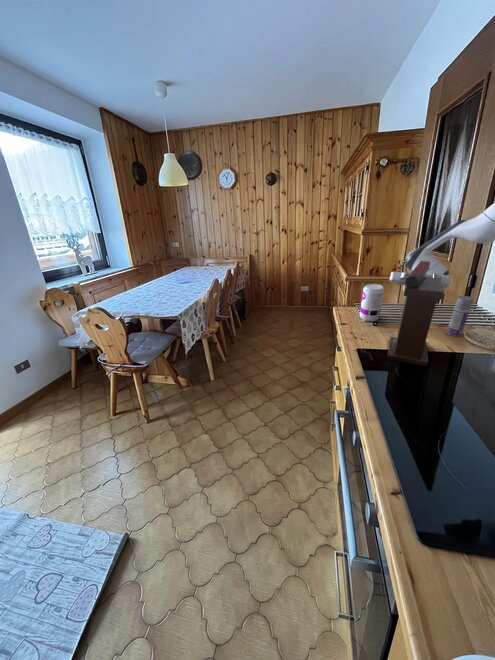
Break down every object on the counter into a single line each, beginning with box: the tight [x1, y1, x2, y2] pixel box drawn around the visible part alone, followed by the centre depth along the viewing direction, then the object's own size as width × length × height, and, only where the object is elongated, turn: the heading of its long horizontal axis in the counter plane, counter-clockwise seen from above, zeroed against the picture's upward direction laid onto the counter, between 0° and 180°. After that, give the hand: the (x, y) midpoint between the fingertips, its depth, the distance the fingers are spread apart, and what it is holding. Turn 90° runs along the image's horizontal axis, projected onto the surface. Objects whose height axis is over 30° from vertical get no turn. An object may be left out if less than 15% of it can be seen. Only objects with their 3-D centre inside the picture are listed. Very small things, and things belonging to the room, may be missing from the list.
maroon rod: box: [405, 261, 430, 288], centre depth 93 cm, size 22×4×4 cm, turn 141°
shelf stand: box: [386, 276, 445, 367], centre depth 96 cm, size 14×12×26 cm
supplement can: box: [359, 283, 385, 323], centre depth 124 cm, size 8×8×15 cm
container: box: [446, 295, 474, 337], centre depth 108 cm, size 5×5×15 cm
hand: (421, 274), depth 104 cm, fingers open, 8 cm apart
